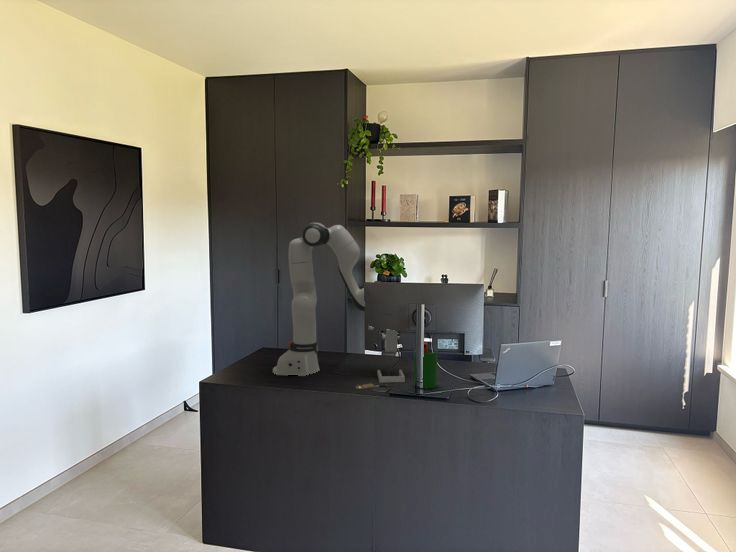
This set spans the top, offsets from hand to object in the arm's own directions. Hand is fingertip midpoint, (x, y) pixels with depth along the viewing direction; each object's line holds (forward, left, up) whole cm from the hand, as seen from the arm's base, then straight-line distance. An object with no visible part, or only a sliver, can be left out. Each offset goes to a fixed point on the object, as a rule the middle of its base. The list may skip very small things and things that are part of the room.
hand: (391, 338), depth 242 cm
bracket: (0, +1, -19) cm, 19 cm away
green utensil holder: (+14, -11, -19) cm, 26 cm away
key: (-13, -12, -19) cm, 26 cm away
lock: (0, +1, -5) cm, 5 cm away
